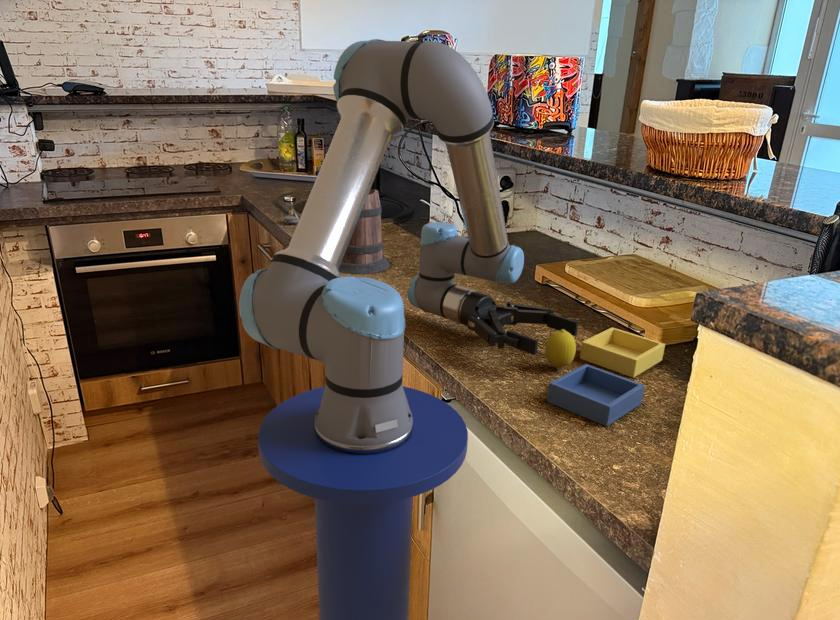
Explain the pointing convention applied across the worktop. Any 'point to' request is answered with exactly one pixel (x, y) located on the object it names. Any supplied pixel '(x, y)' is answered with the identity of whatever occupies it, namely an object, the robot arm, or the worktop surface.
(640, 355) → the yellow bin
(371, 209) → the tankard
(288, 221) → the figurine
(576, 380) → the blue bin
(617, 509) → the worktop surface
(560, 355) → the lemon
